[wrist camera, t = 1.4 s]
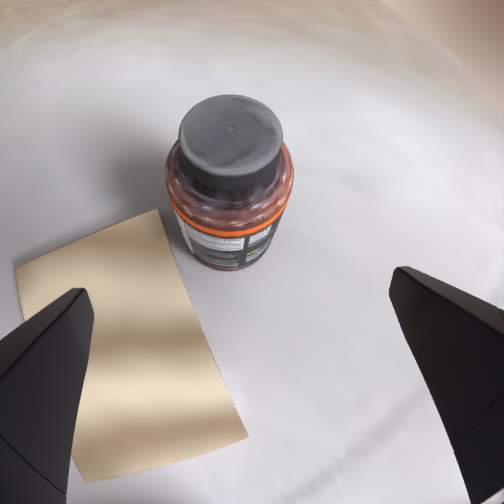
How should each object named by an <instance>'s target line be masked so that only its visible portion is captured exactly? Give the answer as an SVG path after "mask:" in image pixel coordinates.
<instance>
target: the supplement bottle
mask: <svg viewBox="0 0 504 504" xmlns="http://www.w3.org/2000/svg"><path fill="white" fill-rule="evenodd" d="M165 178H166V185H167V190H168V193H169V196H170V199H171V203H172V206H173V209H174V211H175V214H176V217H177V220H178V222H179V225H180V227H179V229H180V228H181V230H182V233H183V236H184V238H185V241H186V243H187V245H188V247H189V249H190V251H191V252H192V254H193V255H194V256H195V257H196V259H198V260H199V261H200V262H201V263H203V264H204V265H206V266H208V267H210V268H212V269H215V270H219V271H237V270H240V269H244V268H246V267H249V266H250V265H252V264H254V263H255V262H256V261H258V260H259V259H260V258H261V257H262V256H263V254H264V253H265V252H266V250H267V248H268V247H269V245H270V243H271V240H272V238H273V236H274V233H275V231H276V228H277V226H278V223H279V221H280V219H281V216H282V214H283V211H284V209H285V207H286V204H287V201H288V199H289V196H290V193H291V190H292V185H293V179H294V168H293V162H292V158H291V155H290V153H289V151H288V149H287V147H286V145H285V143H284V142H283V133H282V128H281V124H280V122H279V120H278V118H277V117H276V115H275V114H274V113H273V112H272V110H270V109H269V108H268V107H267V106H265V105H264V104H263V103H261V102H259V101H257V100H255V99H252V98H249V97H245V96H241V95H219V96H215V97H211V98H208V99H206V100H204V101H202V102H200V103H198V104H197V105H195V106H194V107H192V109H191V110H190V111H188V113H187V114H186V115H185V117H184V118H183V120H182V122H181V125H180V128H179V136H178V140H177V141H176V142H175V144H174V145H173V147H172V149H171V150H170V152H169V154H168V158H167V161H166V166H165Z"/></svg>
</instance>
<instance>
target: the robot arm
mask: <svg viewBox="0 0 504 504" xmlns="http://www.w3.org/2000/svg"><path fill="white" fill-rule="evenodd" d="M389 297H390V300H391V302H392V305H393V308H394V310H395V313H396V315H397V318H398V321H399V323H400V326H401V329H402V332H403V334H404V337H405V339H406V341H407V343H408V345H409V347H410V349H411V352H412V354H413V356H414V358H415V360H416V362H417V364H418V367H419V369H420V371H421V373H422V375H423V378H424V380H425V382H426V384H427V387H428V389H429V391H430V393H431V396H432V398H433V400H434V403H435V405H436V408H437V410H438V412H439V415H440V417H441V420H442V422H443V425H444V427H445V430H446V432H447V435H448V438H449V440H450V443H451V445H452V448H453V450H454V454H455V457H456V460H457V462H458V465H459V468H460V471H461V474H462V477H463V480H464V483H465V486H466V489H467V492H468V495H469V499H470V502H471V504H482V503H483V502H485V501H486V500H488V499H490V498H491V497H493V496H494V495H496V494H497V493H499V492H500V491H502V490H503V489H504V310H502V309H500V308H499V309H498V308H497V307H496V306H494V305H492V304H490V303H488V302H485V301H483V300H481V299H479V298H477V297H475V296H473V295H471V294H469V293H466V292H464V291H462V290H460V289H458V288H456V287H453V286H451V285H449V284H447V283H445V282H443V281H440V280H438V279H436V278H434V277H431V276H429V275H427V274H425V273H422V272H420V271H418V270H416V269H413V268H411V267H409V266H402V267H397V268H395V270H394V272H393V276H392V280H391V284H390V288H389ZM93 325H94V310H93V307H92V304H91V301H90V298H89V295H88V292H87V290H86V289H85V288H72V289H70V290H69V291H67V292H66V293H64V294H63V295H61V296H60V297H59V298H57V299H56V300H54V301H53V302H51V303H50V304H49V305H47V306H46V307H44V308H43V309H42V310H40V311H39V312H38V313H36V314H35V315H33V316H32V317H31V318H29V319H28V320H27V321H25V322H24V323H23V324H21V325H20V326H19V327H17V328H16V329H15V330H13V331H12V332H11V333H9V334H8V335H7V336H5V337H4V338H3V339H1V340H0V504H66V494H67V484H68V475H69V466H70V458H71V451H72V444H73V438H74V431H75V425H76V420H77V414H78V409H79V404H80V399H81V394H82V389H83V384H84V380H85V375H86V371H87V366H88V360H89V353H90V346H91V338H92V331H93ZM502 504H504V502H503V503H502Z"/></svg>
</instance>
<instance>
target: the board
mask: <svg viewBox="0 0 504 504" xmlns="http://www.w3.org/2000/svg"><path fill="white" fill-rule="evenodd" d="M15 273H16V280H17V286H18V291H19V297H20V302H21V307H22V311H23V316H24V320H25V321H27V320H28V319H29V318H31V317H32V316H33V315H35V314H36V313H38V312H39V311H40V310H42V309H43V308H44V307H46V306H47V305H49V304H50V303H51V302H53V301H54V300H56V299H57V298H59V297H60V296H61V295H63V294H64V293H66V292H67V291H69V290H70V289H72V288H85V289H86V290H87V292H88V295H89V298H90V301H91V304H92V307H93V310H94V325H93V331H92V338H91V346H90V353H89V360H88V366H87V371H86V375H85V380H84V384H83V389H82V394H81V399H80V404H79V409H78V414H77V420H76V425H75V431H74V438H73V444H72V451H71V455H72V457H73V459H74V461H75V463H76V465H77V467H78V469H79V471H80V473H81V475H82V477H83V479H84V481H85V482H91V481H96V480H102V479H107V478H113V477H118V476H122V475H127V474H131V473H136V472H140V471H144V470H148V469H152V468H156V467H160V466H164V465H167V464H171V463H174V462H178V461H181V460H184V459H188V458H191V457H194V456H197V455H200V454H204V453H207V452H210V451H213V450H215V449H218V448H221V447H224V446H227V445H230V444H232V443H235V442H238V441H240V440H243V439H245V438H248V433H247V431H246V429H245V427H244V425H243V423H242V420H241V418H240V416H239V414H238V412H237V410H236V407H235V405H234V403H233V401H232V399H231V396H230V394H229V392H228V390H227V388H226V385H225V383H224V381H223V378H222V376H221V374H220V371H219V369H218V367H217V364H216V362H215V360H214V357H213V355H212V353H211V350H210V348H209V345H208V343H207V341H206V338H205V336H204V333H203V331H202V328H201V326H200V323H199V321H198V318H197V316H196V313H195V311H194V308H193V306H192V303H191V300H190V298H189V295H188V292H187V290H186V287H185V285H184V282H183V279H182V276H181V274H180V271H179V268H178V266H177V263H176V260H175V257H174V254H173V252H172V249H171V246H170V243H169V240H168V237H167V234H166V231H165V228H164V226H163V223H162V220H161V217H160V214H159V211H158V209H157V208H156V209H154V210H151V211H148V212H146V213H143V214H141V215H138V216H135V217H133V218H130V219H128V220H125V221H123V222H120V223H118V224H115V225H113V226H110V227H108V228H106V229H103V230H101V231H98V232H96V233H94V234H91V235H89V236H86V237H84V238H82V239H79V240H77V241H75V242H73V243H70V244H68V245H66V246H63V247H61V248H59V249H57V250H54V251H52V252H50V253H48V254H46V255H43V256H41V257H39V258H37V259H35V260H33V261H31V262H28V263H26V264H24V265H22V266H20V267H18V268H16V269H15Z"/></svg>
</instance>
